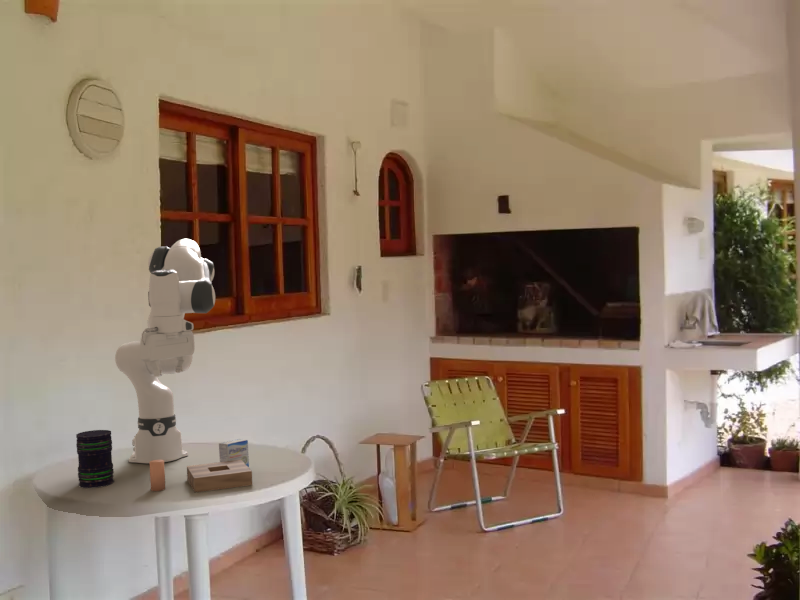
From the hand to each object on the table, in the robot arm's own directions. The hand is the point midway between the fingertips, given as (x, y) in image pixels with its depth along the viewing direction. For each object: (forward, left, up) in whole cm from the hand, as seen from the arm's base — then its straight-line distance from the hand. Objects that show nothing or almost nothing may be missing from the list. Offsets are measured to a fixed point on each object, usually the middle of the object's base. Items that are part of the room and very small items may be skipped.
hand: (168, 374), depth 241 cm
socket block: (+4, +12, -32) cm, 34 cm away
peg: (+3, -5, -32) cm, 32 cm away
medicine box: (-10, +19, -32) cm, 39 cm away
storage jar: (-13, -21, -32) cm, 40 cm away
